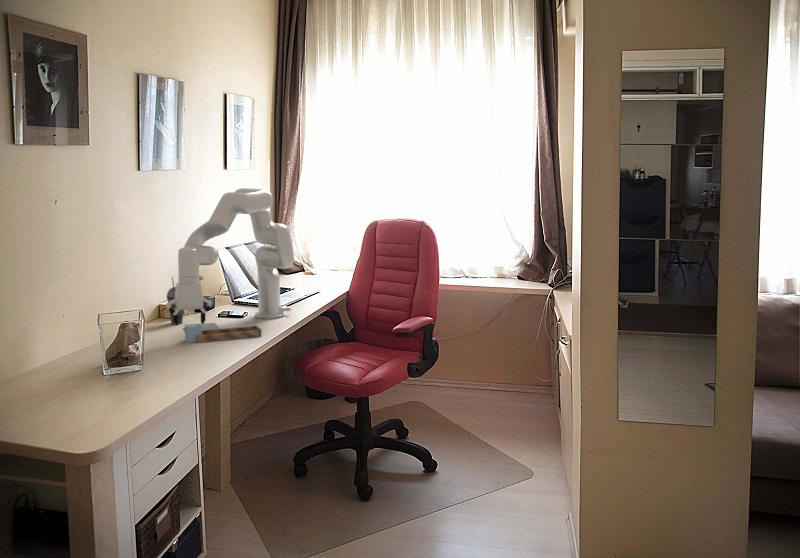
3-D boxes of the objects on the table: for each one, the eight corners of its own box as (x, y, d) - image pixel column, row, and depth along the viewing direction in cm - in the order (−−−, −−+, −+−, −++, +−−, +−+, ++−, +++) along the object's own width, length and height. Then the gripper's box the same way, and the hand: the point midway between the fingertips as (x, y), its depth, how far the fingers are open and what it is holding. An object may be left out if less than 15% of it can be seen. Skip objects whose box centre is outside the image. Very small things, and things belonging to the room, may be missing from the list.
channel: (256, 331, 293) (256, 324, 293) (261, 336, 286) (261, 329, 286) (193, 337, 283) (193, 329, 282) (197, 342, 276) (196, 334, 275)
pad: (214, 325, 303) (214, 322, 303) (220, 331, 292) (220, 328, 292) (185, 327, 298) (184, 324, 298) (189, 334, 287) (189, 331, 287)
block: (198, 338, 282) (197, 323, 281) (202, 341, 278) (201, 326, 277) (185, 339, 279) (184, 324, 278) (189, 342, 275) (188, 327, 274)
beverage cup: (182, 325, 301) (180, 278, 298) (165, 325, 301) (163, 278, 298) (187, 321, 308) (186, 275, 305) (171, 321, 308) (169, 275, 305)
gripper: (210, 277, 281) (210, 320, 284) (163, 279, 274) (164, 323, 277) (213, 280, 275) (214, 324, 277) (166, 282, 267) (167, 327, 270)
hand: (189, 323), depth 277 cm, fingers open, 9 cm apart
